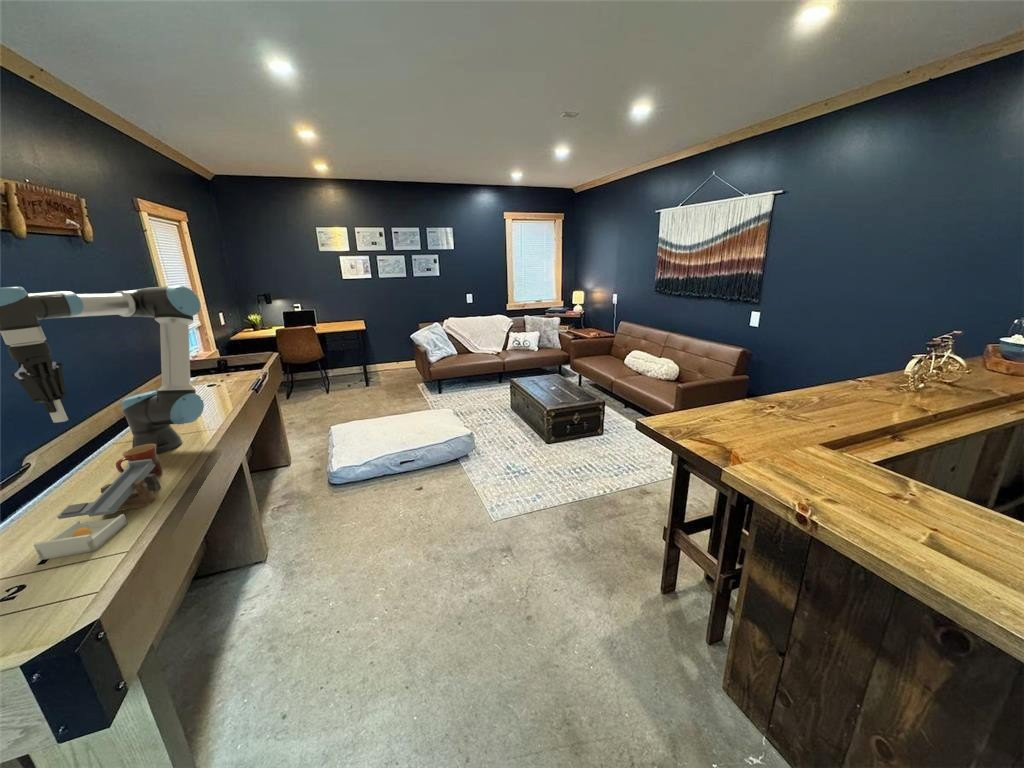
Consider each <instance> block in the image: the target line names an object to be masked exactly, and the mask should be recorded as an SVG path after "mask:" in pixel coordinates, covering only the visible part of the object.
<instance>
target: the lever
mask: <svg viewBox="0 0 1024 768" xmlns="http://www.w3.org/2000/svg"><path fill="white" fill-rule="evenodd" d="M127 464H128V466H127V467H126V468H125V469H123V470H124V471H123V472H122V473H120V474H119V476H117V478H116V479H115V480H114V481H113V482H112V483H110V484H111V485H110V486H109V487H108V488H107V489H106V490H105V491H104V492H103V493H101V494H100V495H99V497H97V498H96V499H95V500H94V501H90V502H84V503H83V502H82V503H81V502H80V503H76V504H75V503H74V504H70V505H67V506H66V507H64V509H62V511H61V512H59V514H58V515H57V516H56V518H58V519H59V520H63V519H68V518H75V517H82V516H88V517H90V518H91V517H97V516H105V515H111V514H115V513H116V512H117V510H118V509H119V507H120V506H121V505H122V504H123V503H124V502H125V500H126V499H127V498H128V497H129V496H130V495H131V494H132V493H134V491H136V488H135V486H134V483H136V482H137V481H138V480H142V479H145V477H146V476H147V475H148V474H149V473H150V472H151V471H152V469H153V468H154V467H155V464H154V463H153V461H152V459H145V460H138V461H130V462H128V463H127Z"/></svg>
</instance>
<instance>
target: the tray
mask: <svg viewBox="0 0 1024 768" xmlns="http://www.w3.org/2000/svg"><path fill="white" fill-rule="evenodd" d="M128 524H129V523H128V520H127V517H126V516H125V513H123V514H119V515H118V516H117V517H113V518H108V519H107V518H106V519H102V520H94V521H87V522H86V521H85V522H80V520H77V521H74V522H73V523H72V524H70V525H69V526H67V527H66V528H65V529H63V530H62V531H60V532H58V534H56V535H55V536H54V537H52V538H50V539H49V540H46V541H45V540H44V541H38V542H35V543H34V544H33V547H34V549H35V551H36V553H37V555H38V557H39V559H40V560H41V561H43V560H49V559H56V558H61V557H67V556H74V555H80V554H86V553H92V552H96V551H97V550H98V549H99V548H100V547H102V546H103V545H104V544H105V543H107V542H108V541H109V540H110V539H111V538H112V537H113V536H115V535H116V534H117V533H118V532H119V531H121V530H122V529H123V528H124V527H126V526H127V525H128ZM83 527H86V528H89V529H90V530H91V531H92V534H91V535H90V534H89V535H83V536H76V537H73V533H74V532H75V531H76V530H77V529H79V528H83Z"/></svg>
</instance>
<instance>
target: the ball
mask: <svg viewBox="0 0 1024 768" xmlns="http://www.w3.org/2000/svg"><path fill="white" fill-rule="evenodd" d="M89 534H90V535H91V534H92V531H91V530H90V529H89V528H86V527H83V528H79V529H77V530H76V531H75V532H74V533H73V537H76V536H83V535H89Z"/></svg>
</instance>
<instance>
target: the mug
mask: <svg viewBox="0 0 1024 768" xmlns="http://www.w3.org/2000/svg"><path fill="white" fill-rule="evenodd" d="M121 454H122V457H121V458H120V459H118V460H117V461H116V462H115V468H116V470H117V471H118V473H120V474H121V473H122V472H123V471H124V470H125V469H124V468H123V467H122V463H123V462H125V461H127V462H128V463H129V462H130V461H138V460H145V459H152V461H153V463H154V464H155V467H154V468H153V469H152V471H151V472H150V473H149V474H155V473H156V476H157V477H158V476H159V475H160V474H161V473H163V469H162V464H161V461H160V459H159V457H158V454H156V444H145V445H140V446H137V447H134V448H132V447H131V448H129V449H126V450H125V451H123V452H122V453H121Z"/></svg>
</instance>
